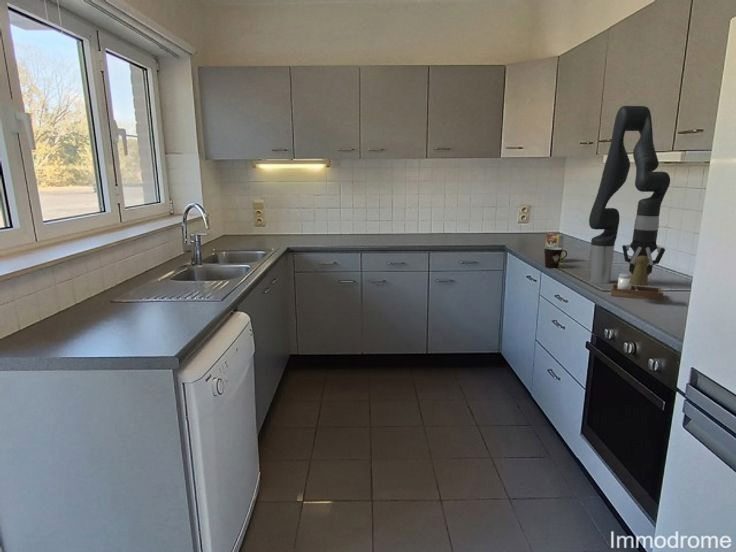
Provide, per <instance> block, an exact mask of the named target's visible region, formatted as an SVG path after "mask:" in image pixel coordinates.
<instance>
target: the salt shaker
mask: <svg viewBox="0 0 736 552" xmlns="http://www.w3.org/2000/svg"><path fill="white" fill-rule="evenodd" d="M631 275H632V274H631V273H625V272H623V273H622V272H621V273H619V275H618V279H617V280H618V281H617V284H618V287H617V289H625V290H631V287H632V286H633V284H630V283H629V282H630V278H631Z"/></svg>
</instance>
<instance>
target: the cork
mask: <svg viewBox="0 0 736 552" xmlns="http://www.w3.org/2000/svg"><path fill="white" fill-rule="evenodd" d="M648 264H649V259H648V256H644V255H638V256H637V258H635V261H634V271H633V274H632V275H631V278H630V282H629V283H630V284H632V286H643V287H647V286H648V285H649V281H648V279H649V278H648V277H649V275H647V271H648Z"/></svg>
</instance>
